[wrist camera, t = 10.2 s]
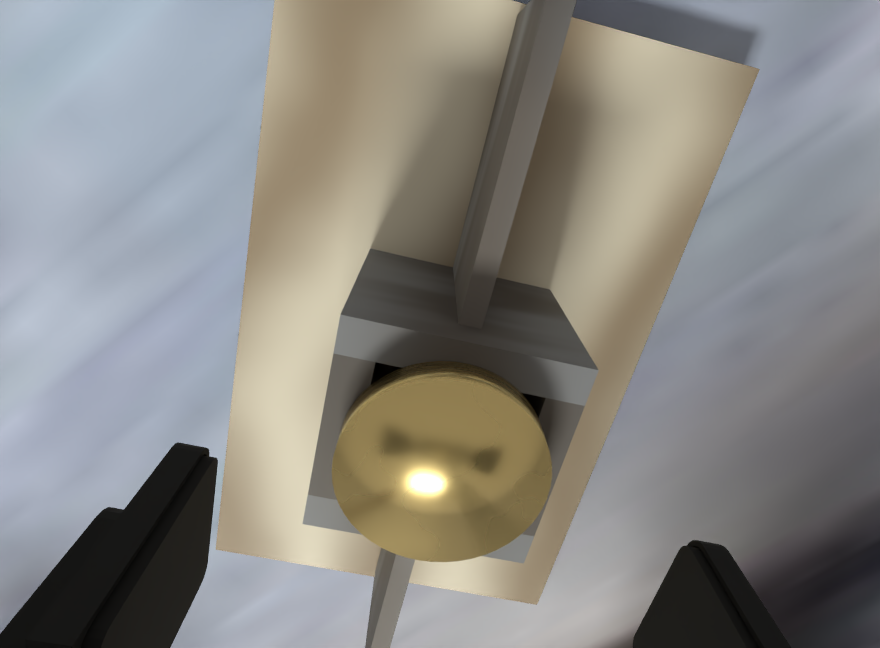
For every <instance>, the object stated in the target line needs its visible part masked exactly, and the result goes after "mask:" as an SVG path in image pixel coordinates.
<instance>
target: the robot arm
mask: <svg viewBox="0 0 880 648" xmlns="http://www.w3.org/2000/svg"><path fill="white" fill-rule="evenodd" d="M217 465H218V460H217V458H214V457H209V449H208V448H204V447H199V446H194V445H188V444H183V443H176V444H174V446H173V447H172V448H171V449H170V450H169V452H168V453H167V454H166V456H165V457H164V458H163V460H162V461H161V462H160V463H159V465H158V466H157V467H156V469H155V470H154V471H153V473H152V474H151V475H150V477H149V478H148V479H147V480H146V482H145V483H144V484H143V486H142V487H141V488H140V490H139V491H138V492H137V494H136V495H135V496H134V497H133V499H132V500H131V501H130V503H129V504H128V505H127V507H126V508H125V509H124V510H122V509H117V508H111V507H108V508H106V509H104V510H102V511H101V513H100V514H99V515H98V516H97V517H96V518H95V519H94V520H93V521H92V523H91V524H90V525H89V526H88V527H87V529H86V530H85V531H84V532H83V534H82V535H81V536H80V537H79V538H78V540H77V541H76V542H75V543H74V545H73V546H72V547H71V548H70V549H69V551H68V552H67V553H66V554H65V556H64V557H63V558H62V559H61V560H60V562H59V563H58V564H57V565H56V567H55V568H54V569H53V570H52V571H51V573H50V574H49V575H48V576H47V578H46V579H45V580H44V581H43V582H42V584H41V585H40V586H39V587H38V589H37V590H36V591H35V592H34V593H33V595H32V596H31V597H30V598H29V599H28V601H27V602H26V603H25V604H24V606H23V607H22V608H21V609H20V610H19V612H18V613H17V614H16V615H15V617H14V618H13V619H12V620H11V621H10V623H9V624H8V625H7V626H6V628H5V629H4V630H3V631H2V632H1V634H0V648H170V647H171V645H172V643H173V641H174V639H175V637H176V635H177V633H178V631H179V628H180V626H181V624H182V622H183V620H184V618H185V616H186V614H187V612H188V610H189V608H190V606H191V604H192V602H193V600H194V598H195V596H196V594H197V592H198V590H199V587H200V585H201V583H202V581H203V578H204V575H205V572H206V568H207V563H208V554H209V544H210V534H211V524H212V515H213V505H214V495H215V485H216V475H217ZM633 648H791V647H790V645H789V644H788V642H787V641H786V639H785V638H784V636H783V635H782V633H781V631H780V630H779V628H778V627H777V625H776V624H775V622H774V621H773V619H772V618H771V616H770V614H769V613H768V611H767V610H766V608H765V607H764V605H763V604H762V602H761V601H760V599H759V598H758V596H757V594H756V593H755V591H754V590H753V588H752V587H751V585H750V584H749V582H748V581H747V579H746V577H745V576H744V574H743V573H742V571H741V570H740V568H739V567H738V565H737V564H736V562H735V560H734V559H733V557H732V556H731V554H730V553H729V551H728V550H727V549H726V548H725V547H724V546H722V545H719V544H713V543H708V542H703V541H697V540H693V541H691V542H689V544H688V545H687V546H683V547H681V549H680V550H679V552H678V554H677V555H676V557H675V559H674V561H673V563H672V565H671V567H670V569H669V571H668V573H667V575H666V576H665V578H664V580H663V582H662V584H661V586H660V588H659V590H658V592H657V594H656V596H655V597H654V599H653V601H652V603H651V605H650V607H649V609H648V611H647V613H646V615H645V617H644V618H643V620H642V622H641V624H640V626H639V628H638V630H637V632H636V634H635V636H634V640H633Z"/></svg>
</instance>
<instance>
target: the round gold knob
mask: <svg viewBox="0 0 880 648" xmlns="http://www.w3.org/2000/svg"><path fill="white" fill-rule="evenodd" d="M551 480H552V462H551V456H550V451H549V448H548V445H547V442H546V439H545V436H544V433H543V430H542V427H541V424H540V421H539V418H538V416H537V414H536V412H535V410H534V408H533V406H532V405H531V404H530V402H529V401H528V400H527V398H526V397H525V396H524V395H523V394H522V393H521V392H520V391H519V390H518V389H517V388H516V387H515V386H514V385H512V384H511V383H510V382H508V381H507V380H506V379H504V378H502V377H501V376H499V375H497V374H495V373H493V372H491V371H489V370H486V369H484V368H481V367H478V366H474V365H471V364H467V363H460V362H454V361H433V362H423V363H418V364H413V365H409V366H406V367H403V368H401V367H398V369H397V370H395V371H393V372H391V373H389V374H387V375H385V376H383V377H382V378H380V379H379V380H377V381H376V382H374V383H373V384H371V385H370V386H369V387H368V388H367V389H366V390H365V391H363V392H362V394H361V395H360V396H359V397H358V398H357V399H356V400H355V402H354V403H353V405H352V406H351V408H350V409H349V411H348V413H347V415H346V417H345V419H344V422H343V425H342V428H341V432H340V435H339V438H338V442H337V445H336V449H335V452H334V456H333V462H332V483H333V488H334V493H335V496H336V498H337V501H338V504H339V506H340V507H341V509H342V511H343V513H344V515H345V516H346V517H347V519H348V520H349V521H350V523H351V524H352V525H353V526H354V527H355V528H356V529H357V530H358V531H359V532H360V533H361V534H362V535H363V536H365V537H366V538H367V539H368V540H370V541H371V542H373V543H374V544H376V545H378V546H379V547H381V548H383V549H385V550H387V551H390V552H392V553H394V554H397V555H400V556H403V557H406V558H410V559H415V560H420V561H428V562H454V561H462V560H468V559H473V558H476V557H480V556H483V555H486V554H488V553H491V552H493V551H496V550H498V549H500V548H501V547H503V546H505V545H507V544H509V543H510V542H511V541H513V540H514V539H516V538H517V537H518V536H520V535H521V534H522V533H523V532H524V531H525V530H526V529H527V528H528V527H529V526H530V525H531V524H532V523H533V522H534V520H535V519H536V518H537V516H538V515H539V513H540V512H541V510H542V508H543V506H544V504H545V502H546V500H547V497H548V494H549V491H550V487H551Z"/></svg>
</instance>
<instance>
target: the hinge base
mask: <svg viewBox="0 0 880 648" xmlns="http://www.w3.org/2000/svg"><path fill="white" fill-rule="evenodd" d="M576 1H577V0H531V1H530V2H529V3H528V4H523V3H520V2H516V1H512V0H275V2H274V11H273V21H272V30H271V39H270V49H269V58H268V67H267V77H266V86H265V95H264V105H263V114H262V123H261V133H260V142H259V151H258V161H257V170H256V179H255V188H254V198H253V207H252V216H251V226H250V235H249V244H248V254H247V263H246V272H245V282H244V291H243V300H242V310H241V319H240V328H239V337H238V347H237V356H236V365H235V375H234V384H233V393H232V403H231V412H230V421H229V431H228V440H227V449H226V459H225V468H224V477H223V486H222V496H221V505H220V514H219V524H218V533H217V542H216V550H222V551H228V552H234V553H240V554H245V555H251V556H257V557H263V558H269V559H274V560H280V561H286V562H292V563H298V564H304V565H309V566H315V567H321V568H327V569H333V570H338V571H344V572H350V573H356V574H362V575H368V576H373V577H374V585H373V592H372V600H371V608H370V615H369V623H368V630H367V638H366V646H365V648H390V645H391V642H392V638H393V635H394V631H395V628H396V624H397V621H398V617H399V614H400V610H401V607H402V603H403V600H404V597H405V593H406V590H407V586H408V583H414V584H420V585H426V586H432V587H437V588H443V589H449V590H455V591H461V592H466V593H472V594H478V595H484V596H490V597H496V598H501V599H507V600H513V601H519V602H525V603H530V604H536V605H537V603H538V601H539V598H540V596H541V594H542V591H543V589H544V586H545V584H546V582H547V579H548V577H549V574H550V572H551V570H552V567H553V565H554V562H555V560H556V558H557V555H558V553H559V550H560V548H561V546H562V543H563V541H564V538H565V536H566V534H567V531H568V529H569V526H570V524H571V522H572V519H573V517H574V514H575V512H576V510H577V507H578V505H579V502H580V500H581V497H582V495H583V493H584V490H585V488H586V485H587V483H588V481H589V478H590V476H591V473H592V471H593V469H594V466H595V464H596V461H597V459H598V457H599V454H600V452H601V449H602V447H603V445H604V442H605V440H606V437H607V435H608V433H609V430H610V428H611V425H612V423H613V421H614V418H615V416H616V413H617V411H618V409H619V406H620V404H621V401H622V399H623V397H624V394H625V392H626V389H627V387H628V384H629V382H630V380H631V377H632V375H633V372H634V370H635V368H636V365H637V363H638V360H639V358H640V356H641V353H642V351H643V348H644V346H645V344H646V341H647V339H648V336H649V334H650V332H651V329H652V327H653V324H654V322H655V320H656V317H657V315H658V312H659V310H660V308H661V305H662V303H663V300H664V298H665V296H666V293H667V291H668V288H669V286H670V284H671V281H672V279H673V276H674V274H675V271H676V269H677V267H678V264H679V262H680V259H681V257H682V255H683V252H684V250H685V247H686V245H687V243H688V240H689V238H690V235H691V233H692V231H693V228H694V226H695V223H696V221H697V219H698V216H699V214H700V211H701V209H702V207H703V204H704V202H705V199H706V197H707V195H708V192H709V190H710V187H711V185H712V183H713V180H714V178H715V175H716V173H717V171H718V168H719V166H720V163H721V161H722V158H723V156H724V154H725V151H726V149H727V146H728V144H729V142H730V139H731V137H732V134H733V132H734V130H735V127H736V125H737V122H738V120H739V118H740V115H741V113H742V110H743V108H744V106H745V103H746V101H747V98H748V96H749V94H750V91H751V89H752V86H753V84H754V82H755V79H756V77H757V74H758V72H759V70H760V69H757V68H754V67H750V66H747V65H743V64H739V63H736V62H732V61H729V60H725V59H721V58H718V57H714V56H711V55H707V54H703V53H700V52H696V51H692V50H689V49H685V48H682V47H678V46H674V45H671V44H667V43H664V42H660V41H656V40H653V39H649V38H646V37H642V36H638V35H635V34H631V33H628V32H624V31H620V30H617V29H613V28H610V27H606V26H602V25H599V24H595V23H592V22H588V21H584V20H581V19H577V18H574V17H572V15H573V11H574V8H575V4H576ZM433 361H454V362H460V363H467V364H471V365H474V366H478V367H481V368H484V369H486V370H489V371H491V372H493V373H495V374H497V375H499V376H501V377H502V378H504V379H506V380H507V381H508V382H510V383H511V384H512V385H514V386H515V387H516V388H517V389H518V390H519V391H520V392H521V393H522V394H523V395H524V396H525V397H526V398H527V400H528V401H529V402H530V404H531V405H532V406H533V408H534V410H535V412H536V414H537V416H538V418H539V421H540V424H541V427H542V430H543V433H544V436H545V439H546V442H547V445H548V448H549V451H550V456H551V462H552V480H551V487H550V491H549V494H548V497H547V500H546V502H545V504H544V506H543V508H542V510H541V512H540V513H539V515H538V516H537V518H536V519H535V520H534V522H533V523H532V524H531V525H530V526H529V527H528V528H527V529H526V530H525V531H524V532H523V533H522V534H521V535H520V536H518V537H517V538H516V539H514V540H513V541H511V542H510V543H509V544H507V545H505V546H503V547H501V548H500V549H498V550H496V551H493V552H491V553H488V554H486V555H483V556H480V557H476V558H473V559H468V560H462V561H454V562H428V561H420V560H415V559H410V558H406V557H403V556H400V555H397V554H394V553H392V552H390V551H387V550H385V549H383V548H381V547H379V546H378V545H376V544H374V543H373V542H371V541H370V540H368V539H367V538H366V537H365V536H363V535H362V534H361V533H360V532H359V531H358V530H357V529H356V528H355V527H354V526H353V525H352V524H351V523H350V521H349V520H348V519H347V517H346V516H345V515H344V513H343V511H342V509H341V507H340V506H339V504H338V501H337V498H336V496H335V493H334V488H333V483H332V462H333V456H334V452H335V449H336V445H337V442H338V438H339V435H340V432H341V428H342V425H343V422H344V419H345V417H346V415H347V413H348V411H349V409H350V408H351V406H352V405H353V403H354V402H355V400H356V399H357V398H358V397H359V396H360V395H361V394H362V392H363V391H365V390H366V389H367V388H368V387H369V386H370V385H371V384H373V383H374V382H376V381H377V380H379V379H380V378H382V377H383V376H385V375H387V374H389V373H391V372H393V371H395V370H397V369H398V367H401V368H403V367H406V366H409V365H413V364H418V363H423V362H433Z"/></svg>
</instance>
